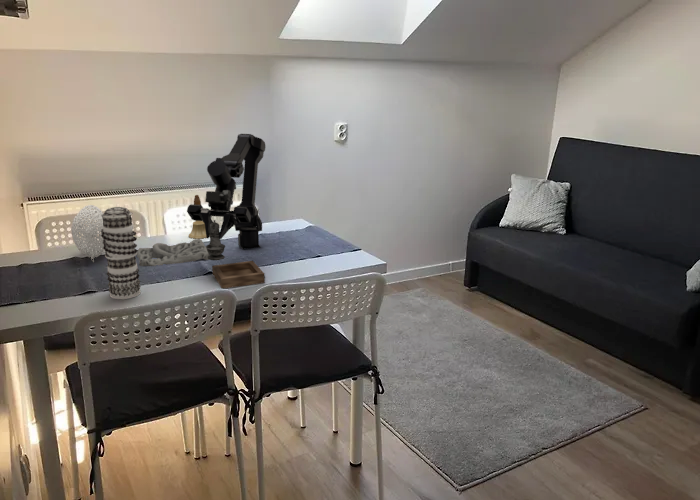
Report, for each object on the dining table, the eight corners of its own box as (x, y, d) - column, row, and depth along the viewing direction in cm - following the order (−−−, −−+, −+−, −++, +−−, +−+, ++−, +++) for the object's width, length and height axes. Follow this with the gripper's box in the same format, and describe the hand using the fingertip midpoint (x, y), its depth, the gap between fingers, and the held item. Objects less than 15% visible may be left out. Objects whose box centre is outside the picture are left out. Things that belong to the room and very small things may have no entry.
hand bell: (210, 238, 227) (208, 197, 222) (187, 239, 225) (185, 197, 220) (210, 232, 235) (208, 192, 230) (188, 233, 233) (186, 193, 228)
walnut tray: (253, 269, 195) (252, 260, 194) (264, 282, 183) (264, 273, 182) (212, 274, 190) (212, 265, 189) (222, 288, 178) (221, 279, 177)
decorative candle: (100, 296, 171) (90, 211, 163) (123, 286, 179) (114, 203, 172) (126, 301, 168) (117, 214, 160) (148, 290, 176) (140, 207, 168)
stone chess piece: (228, 255, 187) (227, 218, 183) (221, 261, 182) (219, 223, 178) (210, 253, 188) (209, 216, 184) (202, 259, 183) (200, 221, 179)
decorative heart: (105, 265, 196) (100, 214, 191) (70, 267, 194) (63, 215, 189) (113, 248, 213) (108, 201, 208) (81, 250, 211) (75, 202, 206)
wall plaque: (203, 245, 220) (202, 235, 219) (212, 261, 204) (212, 250, 202) (134, 252, 212) (133, 241, 210) (139, 269, 195) (138, 258, 194)
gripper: (186, 178, 182) (174, 223, 176) (246, 181, 180) (236, 226, 173) (198, 197, 192) (187, 241, 185) (255, 200, 190) (246, 244, 183)
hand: (213, 238), depth 181 cm, fingers closed on stone chess piece, 3 cm apart
